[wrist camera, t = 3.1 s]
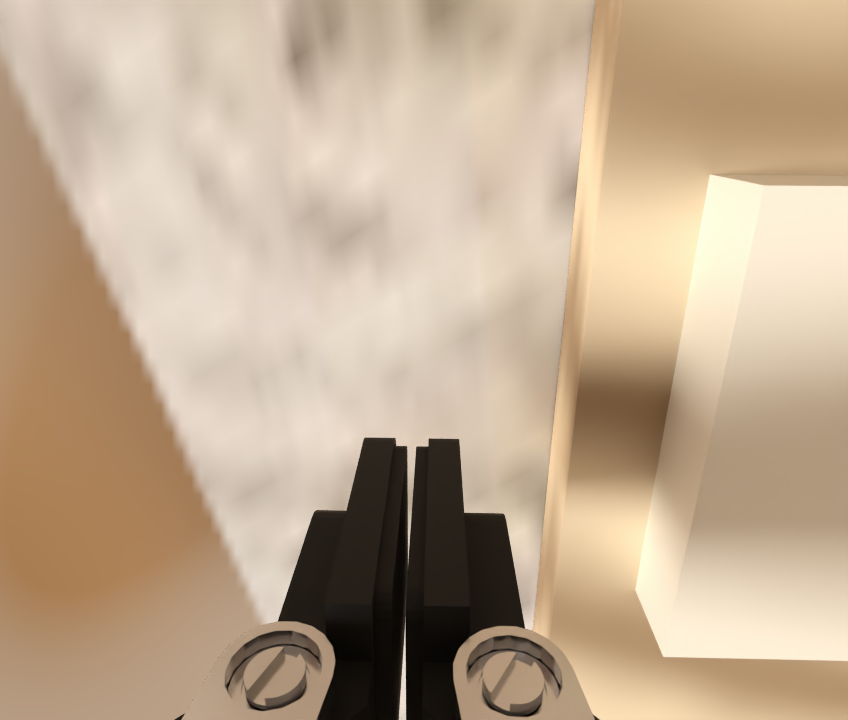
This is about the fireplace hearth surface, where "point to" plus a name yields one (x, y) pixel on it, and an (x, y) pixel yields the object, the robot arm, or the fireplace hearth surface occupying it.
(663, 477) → the cream rectangular block
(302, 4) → the fireplace hearth surface
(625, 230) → the wavy wooden board
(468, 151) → the fireplace hearth surface
